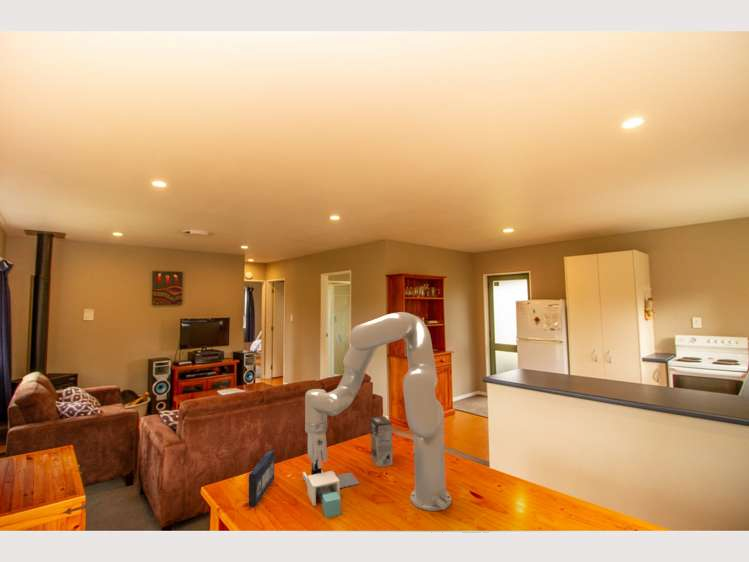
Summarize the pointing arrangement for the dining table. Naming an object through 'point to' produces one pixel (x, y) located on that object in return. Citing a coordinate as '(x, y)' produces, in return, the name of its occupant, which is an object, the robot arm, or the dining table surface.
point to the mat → (347, 480)
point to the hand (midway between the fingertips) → (316, 480)
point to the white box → (321, 483)
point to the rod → (322, 491)
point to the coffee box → (381, 441)
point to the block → (331, 504)
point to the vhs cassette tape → (261, 478)
